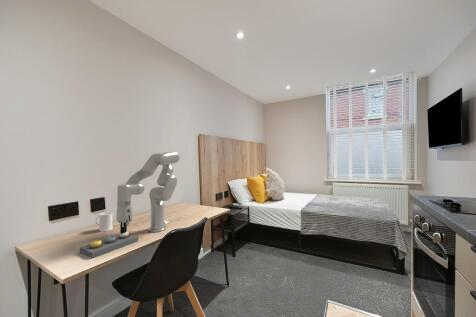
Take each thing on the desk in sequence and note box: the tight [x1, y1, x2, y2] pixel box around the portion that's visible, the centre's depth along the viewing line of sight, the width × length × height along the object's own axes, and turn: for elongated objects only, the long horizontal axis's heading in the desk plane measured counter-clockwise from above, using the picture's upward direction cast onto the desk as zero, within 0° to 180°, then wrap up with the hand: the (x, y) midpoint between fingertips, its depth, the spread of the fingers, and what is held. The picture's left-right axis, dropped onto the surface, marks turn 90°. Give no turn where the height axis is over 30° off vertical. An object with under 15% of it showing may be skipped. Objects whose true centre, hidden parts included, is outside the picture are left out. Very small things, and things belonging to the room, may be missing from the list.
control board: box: [79, 233, 139, 259], centre depth 120 cm, size 26×14×3 cm, turn 150°
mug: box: [95, 211, 114, 233], centre depth 150 cm, size 12×8×12 cm
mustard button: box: [90, 239, 102, 247], centre depth 113 cm, size 5×5×2 cm
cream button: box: [119, 230, 130, 237], centre depth 127 cm, size 5×5×2 cm
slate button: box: [105, 235, 117, 242], centre depth 120 cm, size 5×5×2 cm
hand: (123, 232), depth 127 cm, fingers closed
